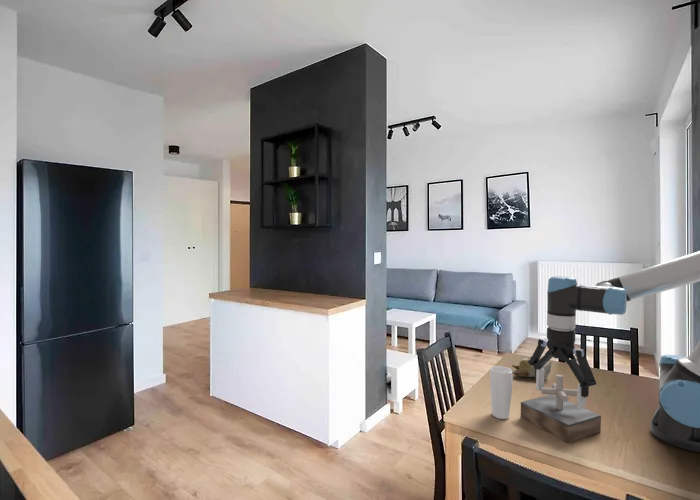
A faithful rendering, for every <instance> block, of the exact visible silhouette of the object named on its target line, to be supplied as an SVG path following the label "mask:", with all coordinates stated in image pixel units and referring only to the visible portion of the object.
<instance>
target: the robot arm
mask: <svg viewBox="0 0 700 500" xmlns="http://www.w3.org/2000/svg"><path fill="white" fill-rule="evenodd" d="M699 282H700V250H698V251H696V252H693V253H689V254H687V255H683V256H681V257H677V258H675V259H671V260H668V261H664V262H661V263H659V264H656V265H652V266H650V267H645V268H643V269H639V270H637V271H633V272H631V273H627V274H624V275H621V276H618V277H615V278H612V279H608V280H603V281H600V282H597V283H596V284H595V285H583V284H580V283H579V284H578V281H577V279H576V277H572V276H561V275H560V276H558V275H557V276H552V277H550V278H549V279H548V284H547V290H546V292H547V294H546V295H547V298H546V299H547V300H546V301H547V304H546V305H547V311H546V312H547V313H546V326H547V328H546V338H545V337H544V338H539V339H537V345H536V348H535V349H534V351H533V353H532V357H531V356H530V358H531V359H530V358H529V359H530V361H529V364H530V365H532V366H534V368H535V377H534V378H535V384H536V385H535V390H536V391H541V388H545V380H544V369H543V368H542V367H543V366H544V365H545V364H546V363H547V362H550V360H551V359H552V358H554V359H558V360H560V361H563V362H565V364H567V365H568V366H569V368H570V370H571V371H572V374H573V375H574V377H575V379H576V380H577V381H578V383H579V384H577V388H576V390H577V396H576V405H577V408H585V407H587V406H586V405H587V404H586V403H587V398H588V397H589V392H590V391H589V388H590V387H592V386H596V385H597V380H596V378H595V375H594V373H593V371H592V369H591V366H590V364H589V361H588V360H587V354H586V350H585V349H584V348H581V349H579V348H576V347H575V343H576V330H575V329H576V324H577V323H576V320H577V318H576V317H577V316H576V315H577V312H576V311H579V312H590V313H599V314H608V315H619V316H621V315H625V314H626V311H627V306H628V305H627V303H628V302H630V301H633V300H637V299H641V298H645V297H648V296H651V295H655V294H659V293H663V292H665V291H670V290H673V289H677V288H680V287H685V286H687V285H692V284H694V283H699ZM546 348H547V349H548V350H547V351H546V352H545V350H546ZM544 352H545V353H544ZM543 353H544V355H543ZM542 355H543V356H542ZM659 359H660V362H659V363H658V365H659V387H658V407H657V408H656V411H655V412H654V415H653V416H652V418H651V421H650V426H649V427H650V432H651V434H652V435H653V436H655V437H656V438H657V439H659V440H660V441H663V442H664V443H667V444H668V445H671V446H674V447H677V448H679V449H682V450H686V451H691V452H694V453H700V340H699V341H698V343H697V344H696V345H695V347H694V348H693V350H692V351H691V353H690V355H689V356H684V355H678V354H677V355H676V354H664V355H661V356H660V358H659ZM541 368H542V369H541Z"/></svg>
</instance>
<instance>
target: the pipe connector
mask: <svg viewBox="0 0 700 500" xmlns="http://www.w3.org/2000/svg"><path fill="white" fill-rule="evenodd" d="M540 393H541V394H542V395H551V394H552V395H555V396H556V408H557V409H559V410H563V401H564V402H567V401H569V399H570V398H569V397H570V396H572V397H577V389H569V388H564V375H563V374H556V375H555V382H553V383H552V384H551V387H544V388H541V390H540ZM568 396H569V397H568Z"/></svg>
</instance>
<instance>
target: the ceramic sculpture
mask: <svg viewBox="0 0 700 500" xmlns="http://www.w3.org/2000/svg"><path fill="white" fill-rule="evenodd" d="M531 357H532V356H530V357H529V358H523V359H522V360H520V362H519V365H515V364H512V366H511V367H512V368H514V369H515V370H514V371H513V370H512V371H513V376H517V377H521V378H523V377H527V378H535V368H534V366H532V365H530V364H529V361H530V359H531ZM542 368H543V369H544V381H545V380H546V379H547V378H548V377H549V374H550V373H551V369H552V361H548V362H547V363H546V364H545V365H544V366H543V367H542ZM542 368H541V369H542Z"/></svg>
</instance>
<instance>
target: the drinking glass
mask: <svg viewBox="0 0 700 500" xmlns="http://www.w3.org/2000/svg"><path fill="white" fill-rule="evenodd" d="M513 382H514V374H513V370H512V369H511V368H510V367H508V366H507V367H506V366H502V365H494V366H493V365H492V366H490V368H489V390H490V404H491V415H492V416H493V417H494V418H496V419H500V420H507V419H509V418H510V417H511V415H510V414H511V403H512V395H513V394H512V392H513Z"/></svg>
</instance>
